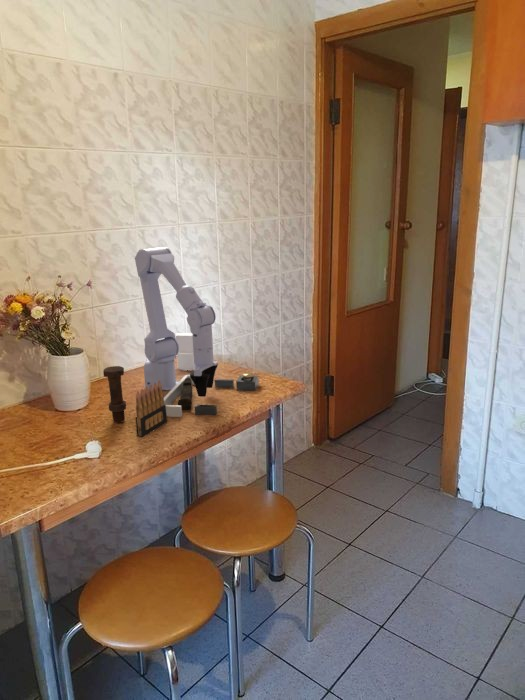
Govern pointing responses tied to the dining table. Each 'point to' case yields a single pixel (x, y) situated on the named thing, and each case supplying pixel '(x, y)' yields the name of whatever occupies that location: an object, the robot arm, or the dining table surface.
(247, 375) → the release plunger
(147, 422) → the ammunition clip
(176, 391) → the white u-shaped bracket
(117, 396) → the bolt
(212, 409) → the tool holder
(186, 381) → the hand tool
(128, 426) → the dining table surface
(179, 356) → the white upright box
